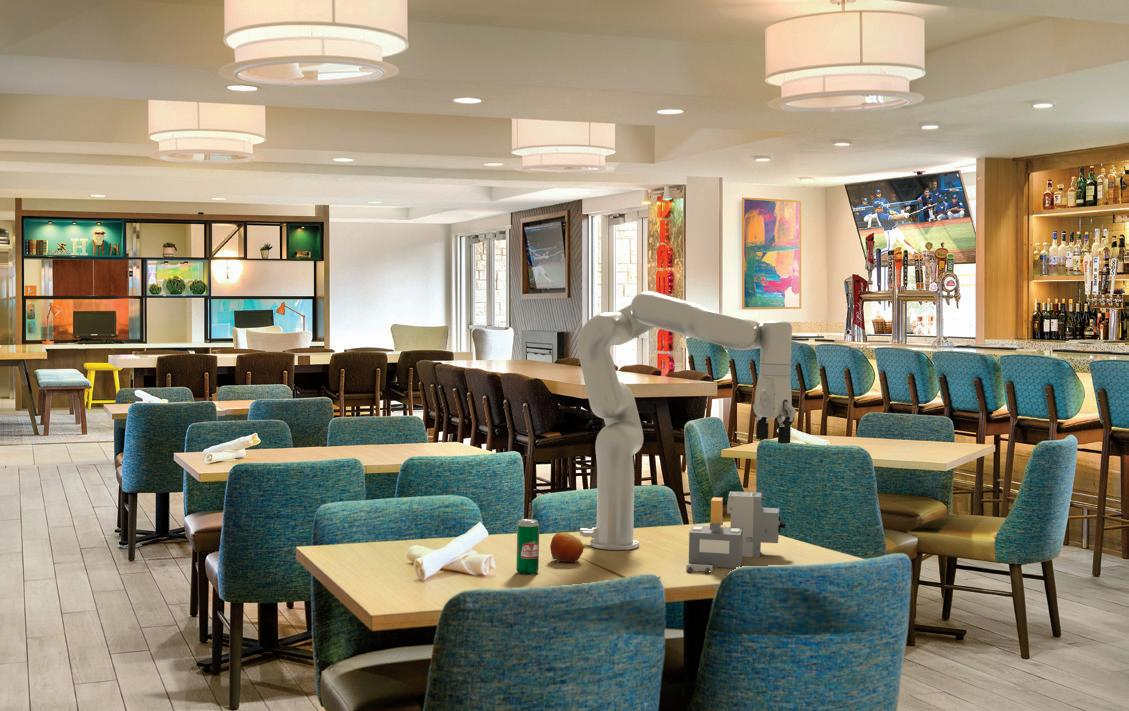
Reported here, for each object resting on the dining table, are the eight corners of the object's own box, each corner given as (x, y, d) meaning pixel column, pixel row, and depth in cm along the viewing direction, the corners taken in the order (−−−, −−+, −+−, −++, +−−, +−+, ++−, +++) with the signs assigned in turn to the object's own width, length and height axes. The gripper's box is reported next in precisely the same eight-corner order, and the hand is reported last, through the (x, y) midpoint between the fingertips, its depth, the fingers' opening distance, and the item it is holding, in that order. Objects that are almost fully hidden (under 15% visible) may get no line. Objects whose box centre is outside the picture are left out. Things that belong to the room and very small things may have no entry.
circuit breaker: (784, 558, 289) (785, 498, 288) (726, 555, 291) (727, 495, 291) (784, 552, 296) (786, 493, 295) (728, 549, 299) (729, 491, 298)
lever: (710, 529, 279) (710, 500, 279) (712, 524, 285) (713, 497, 285) (720, 529, 278) (721, 501, 278) (722, 525, 284) (723, 497, 284)
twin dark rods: (684, 572, 270) (685, 566, 270) (688, 565, 278) (688, 560, 278) (711, 574, 269) (711, 568, 269) (713, 567, 277) (714, 561, 277)
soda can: (521, 575, 265) (521, 522, 264) (513, 571, 269) (513, 519, 269) (541, 574, 267) (542, 521, 266) (533, 569, 271) (534, 518, 271)
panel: (688, 566, 278) (689, 522, 278) (692, 557, 288) (693, 515, 288) (739, 569, 276) (740, 525, 275) (742, 560, 286) (743, 518, 285)
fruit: (537, 553, 283) (553, 524, 284) (563, 568, 285) (579, 539, 287) (550, 560, 275) (567, 530, 277) (576, 575, 278) (592, 545, 279)
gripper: (743, 369, 293) (741, 437, 294) (781, 373, 278) (779, 445, 278) (768, 369, 296) (766, 437, 297) (808, 373, 280) (806, 444, 281)
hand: (772, 441), depth 288 cm, fingers open, 9 cm apart
